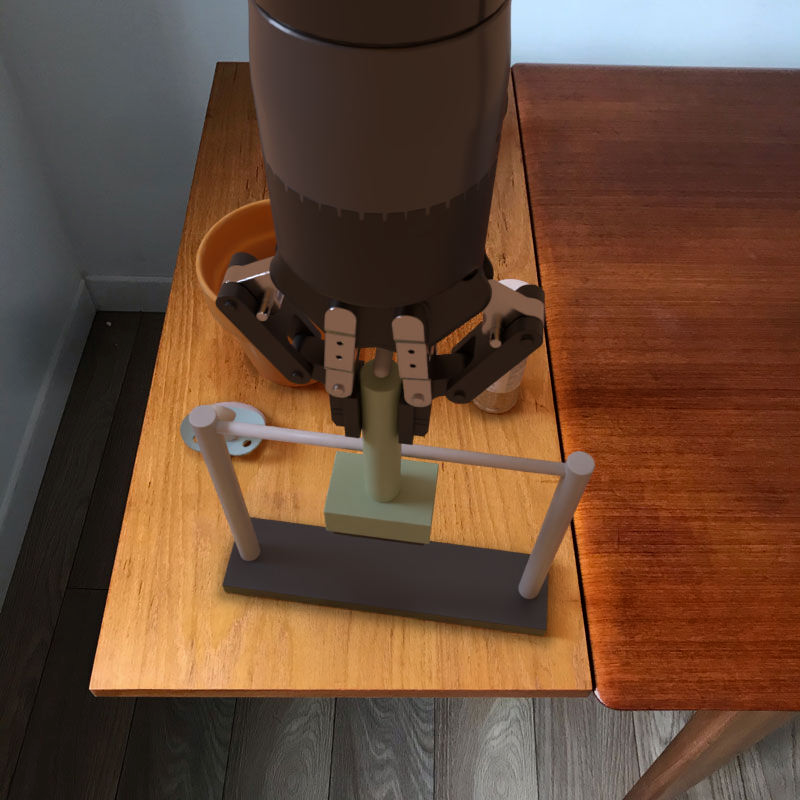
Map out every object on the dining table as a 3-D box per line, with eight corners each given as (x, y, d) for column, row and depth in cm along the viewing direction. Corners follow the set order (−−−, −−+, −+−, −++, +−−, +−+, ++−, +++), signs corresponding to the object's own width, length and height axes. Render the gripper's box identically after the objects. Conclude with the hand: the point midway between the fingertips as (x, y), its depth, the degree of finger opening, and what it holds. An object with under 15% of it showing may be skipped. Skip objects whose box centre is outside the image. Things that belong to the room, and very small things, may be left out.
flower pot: (217, 415, 70) (187, 322, 60) (227, 299, 78) (202, 198, 68) (373, 408, 71) (371, 315, 60) (367, 293, 79) (364, 193, 68)
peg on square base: (441, 444, 49) (460, 282, 37) (428, 551, 45) (444, 408, 33) (348, 433, 50) (336, 268, 37) (327, 538, 45) (305, 391, 33)
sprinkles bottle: (459, 392, 72) (473, 293, 61) (495, 368, 74) (514, 268, 63) (493, 424, 70) (513, 328, 59) (528, 398, 72) (555, 301, 61)
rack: (545, 563, 63) (607, 421, 45) (543, 636, 59) (608, 513, 42) (244, 523, 64) (192, 372, 47) (225, 592, 61) (161, 456, 44)
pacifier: (196, 403, 71) (180, 458, 68) (182, 360, 66) (164, 417, 63) (275, 409, 71) (263, 464, 67) (267, 366, 66) (254, 423, 62)
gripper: (125, 179, 22) (226, 474, 37) (606, 230, 21) (518, 511, 36) (198, 38, 27) (263, 351, 41) (602, 75, 26) (525, 382, 40)
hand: (382, 425), depth 38 cm, fingers closed on peg on square base
